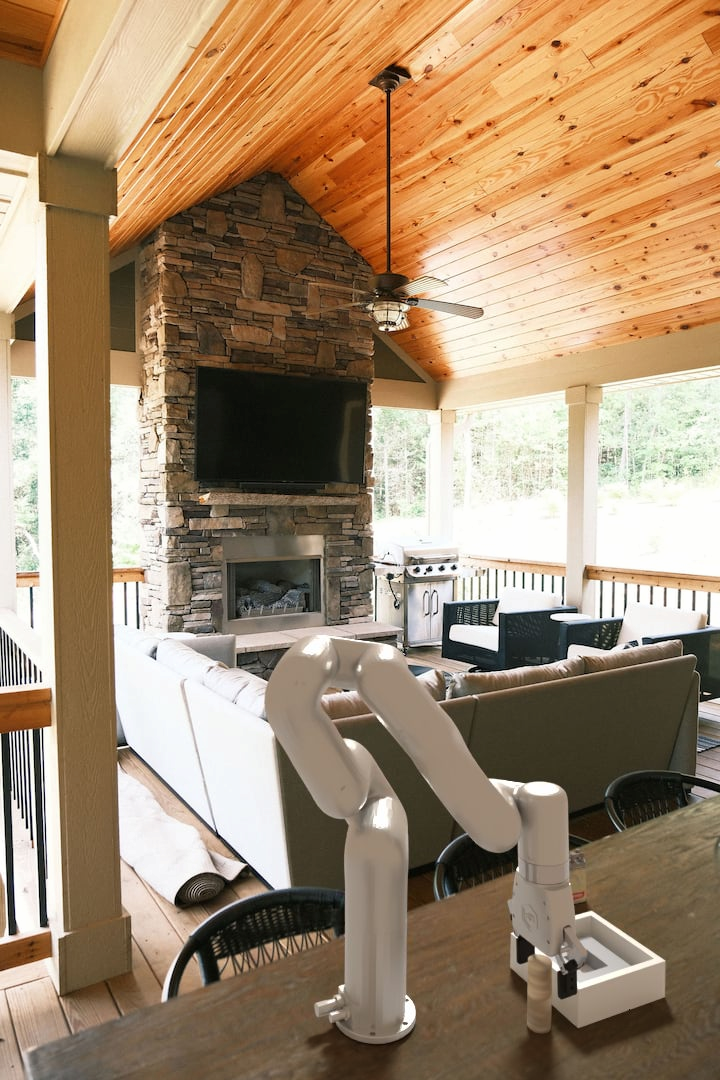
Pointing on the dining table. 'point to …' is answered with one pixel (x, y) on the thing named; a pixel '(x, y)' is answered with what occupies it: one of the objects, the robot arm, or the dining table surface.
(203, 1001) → the dining table surface
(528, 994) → the peg
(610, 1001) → the box
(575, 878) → the lighter
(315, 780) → the robot arm
